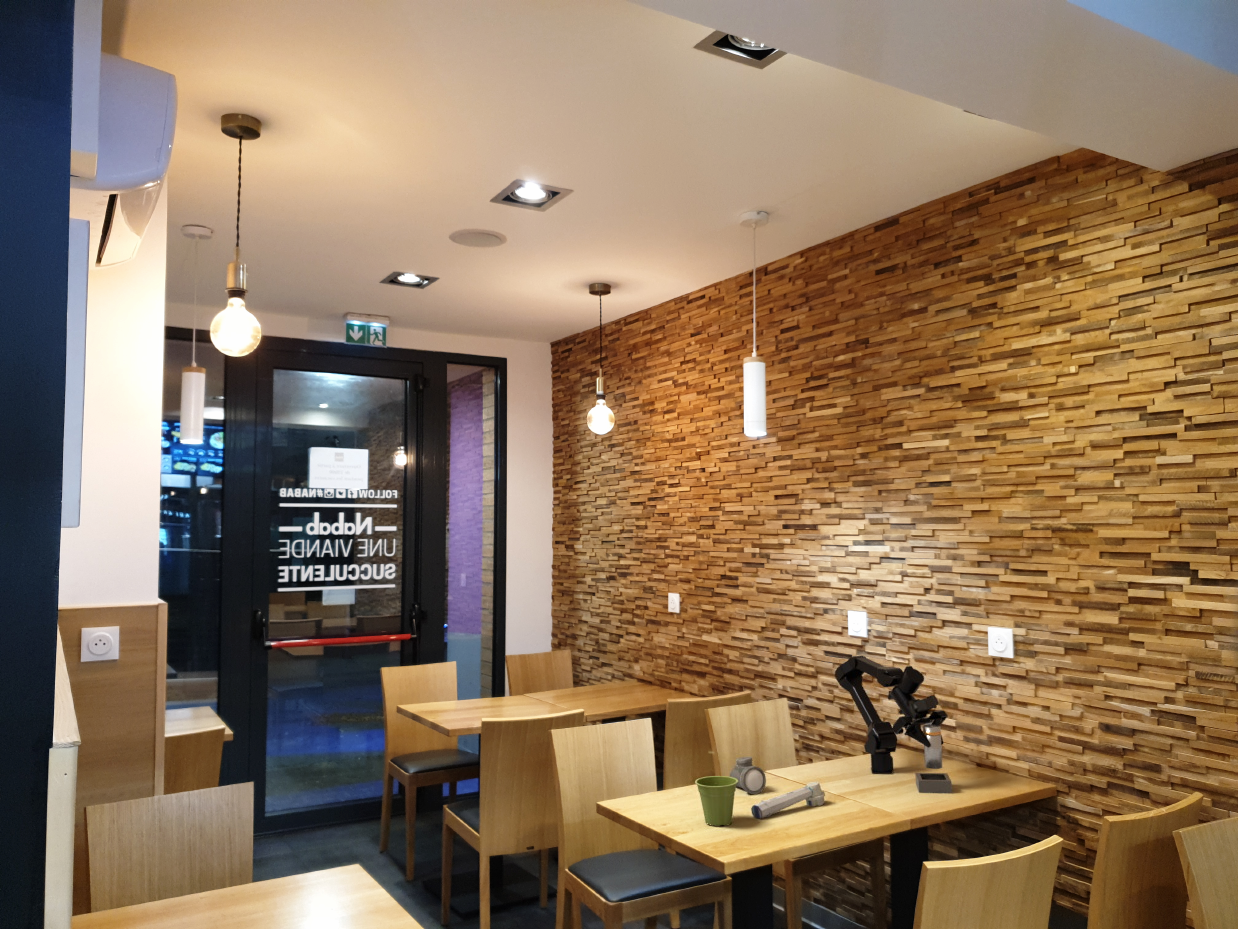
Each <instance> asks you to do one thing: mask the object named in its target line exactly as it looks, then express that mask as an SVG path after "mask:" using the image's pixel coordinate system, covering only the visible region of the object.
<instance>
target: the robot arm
mask: <svg viewBox="0 0 1238 929" xmlns="http://www.w3.org/2000/svg"><path fill="white" fill-rule="evenodd" d="M864 674H867V675H869V676H871V677H873V678H875V679H876V681H877V683H878V684H879V685H881V687H883V688H892V689H891V690H888V695H887V700H888V701H891V700H894V702H895V703H896V705H897V706H898V708H899V709H900V710H899V711H898V713H899V715H904V716H899V717H898V718H897V720H895V722H894V723H893V725H892V723H890V721H884V720H882V719H881V717H880V715H879V713H878V711H877V710H876V707H875V706H874V705H873V702H872V701H871V699H870V697H869V696H868V694H867V691H866V689H865V688H864V686H863V681H864V680H863V679H864V678H863V675H864ZM834 677H835V679H836V682H837V683H838V684H839V686H840V687H841V688H843V689H844V690H846V692H848V693H849V694H850V697H851V698H852V700H853V702H854V703H855V704H854V705H855V706H856V708H857V709H858V712H859V713H860V715H861V717H862V718H863V720H864V722H865V724H866V726H867V736H866V737H867V738H868V739H867V741H866V743H864V746H863V747H864V750H865V753H867V754H870V770H871V774H885V775H889V774H890V775H891V774H893V771H894V759H893V756H892V753H896V751H897V745H898V737H897V735H902V734H903V733H904V734H903V735H905V736H908V737H910V738H911V739H913V740H915V741H917V742H919V743H920V744H922V746H924V745H925V746H926V747H928V748H929V747H930V746H931V745H930V743H929V741H928V739H927V738H926V736H925V734H924V733H923V728H922V726H923V725H938V726H940V727H941V725H942V724H944V721H946V720H947V719H948V717H949V715H948V714H947V712H946V710H945V709H939V710H933V709H937V707H938V705H939V699H938V698H937V697H936V695H934V694H931V695H929V696H926V698H922V699H920V698H917V699H916V698H915V696H914V694H916V693H917V692H918V690H919V688H920V687H921V685H922V684H923V683H924V681H925V677H924V674H923V673H922V672H920V671H919V670H918V669H916V668H914V667H913V666H912V665H908V666H905V668H904V669H903V668H902V669H901V668H900V667H895V666H886V665H885V666H884V665H883V664H880V663H878V662H876V661H874V660H872V659H870V658H868V657H866V656H864V655H854V656H851V657H850V658H849V659H848V660H846V661H845V662H843V663H842V664H840V665H839V666H838V667H837V668H836V670H835V671H834ZM930 710H933V711H932V712H930ZM929 714H930V715H929ZM927 715H929V716H927ZM904 730H905V731H904ZM944 743H945V742H944V739H943V735H942V734H941V746H943V745H944Z"/></svg>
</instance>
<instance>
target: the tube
mask: <svg viewBox="0 0 1238 929" xmlns="http://www.w3.org/2000/svg"><path fill="white" fill-rule="evenodd" d="M922 731H923V733H924V734H925V736H926V738H927V739H928V741H929V743H930V745H931V746H930V747H929V748H928V747H926V746H925V745H923V748H924V749H923V750H924V751H923V752H924V767H925V768H927V769H931V770H939V769H940V770H941V769H942V768H944V767H943V751H942V749H943V748H942V745H941V735H942V730H941V725H940V726H938V725H925V724H923V725H922Z"/></svg>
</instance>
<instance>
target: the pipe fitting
mask: <svg viewBox="0 0 1238 929" xmlns="http://www.w3.org/2000/svg"><path fill="white" fill-rule="evenodd" d="M735 761H736V762H735V765H734V768H732V769H731V770H730V772H729V775H728V777H733V778H736V779H737V780H738V783H737V784H736V788H741V789H743V791H745V792H746V793H747V794H750V795H758V794H760V793H761V792H762V791H764V789H765V788H766V785H767V777H766V773H765V772H764V770H763V769H762V768H761V767H759V766H755V765H754V764H753V757H752V756H742V757H738V758H737V759H736V758H735Z"/></svg>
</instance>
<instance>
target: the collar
mask: <svg viewBox="0 0 1238 929" xmlns="http://www.w3.org/2000/svg"><path fill="white" fill-rule="evenodd" d="M914 775H915V786H916V788H917V791H918V793H919V794H921V793H922V794H924V793H925V794H953V784H952V783H953V782H952V779H951V778H950V775H949V774H948V773H947V772H945V773H943V772H915V774H914Z"/></svg>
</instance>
